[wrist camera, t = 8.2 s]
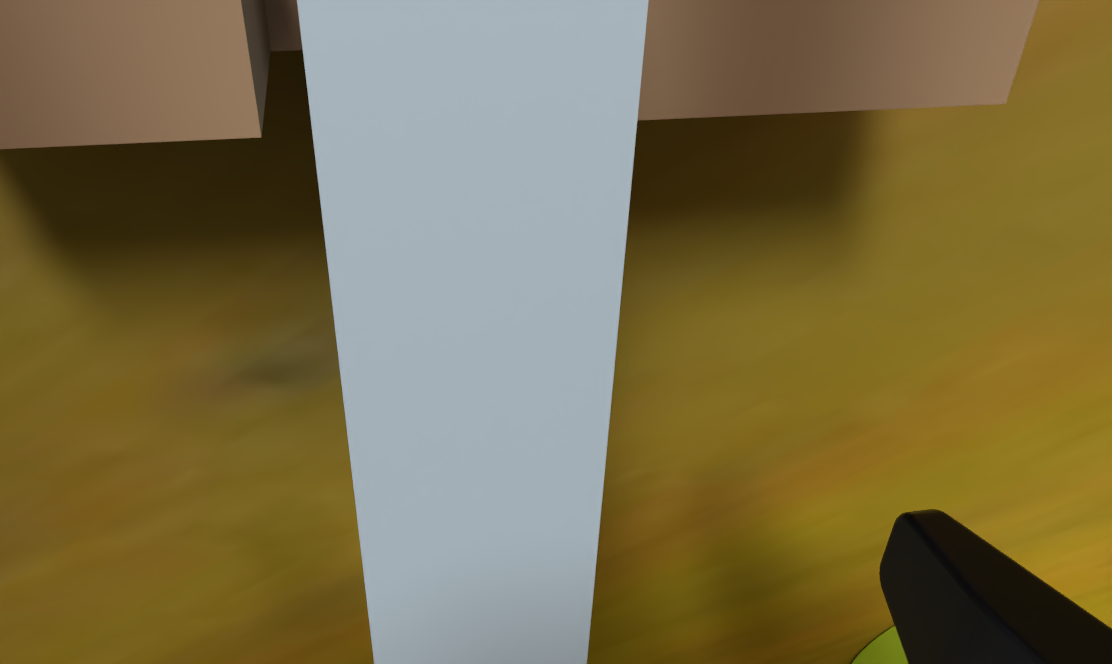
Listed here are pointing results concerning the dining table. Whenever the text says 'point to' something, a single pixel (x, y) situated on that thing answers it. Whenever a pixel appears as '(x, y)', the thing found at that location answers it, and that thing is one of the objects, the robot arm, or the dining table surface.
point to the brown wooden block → (666, 83)
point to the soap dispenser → (883, 650)
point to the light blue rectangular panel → (476, 304)
